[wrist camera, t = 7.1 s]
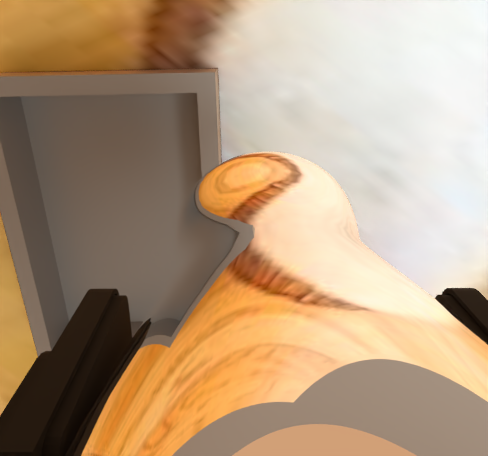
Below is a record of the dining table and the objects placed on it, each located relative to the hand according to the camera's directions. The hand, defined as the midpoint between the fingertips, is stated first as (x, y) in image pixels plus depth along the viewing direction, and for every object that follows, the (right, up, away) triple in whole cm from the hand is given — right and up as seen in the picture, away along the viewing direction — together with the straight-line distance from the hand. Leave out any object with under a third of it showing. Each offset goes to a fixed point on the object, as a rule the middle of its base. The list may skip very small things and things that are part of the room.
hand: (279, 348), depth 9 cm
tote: (-10, +4, +26) cm, 28 cm away
